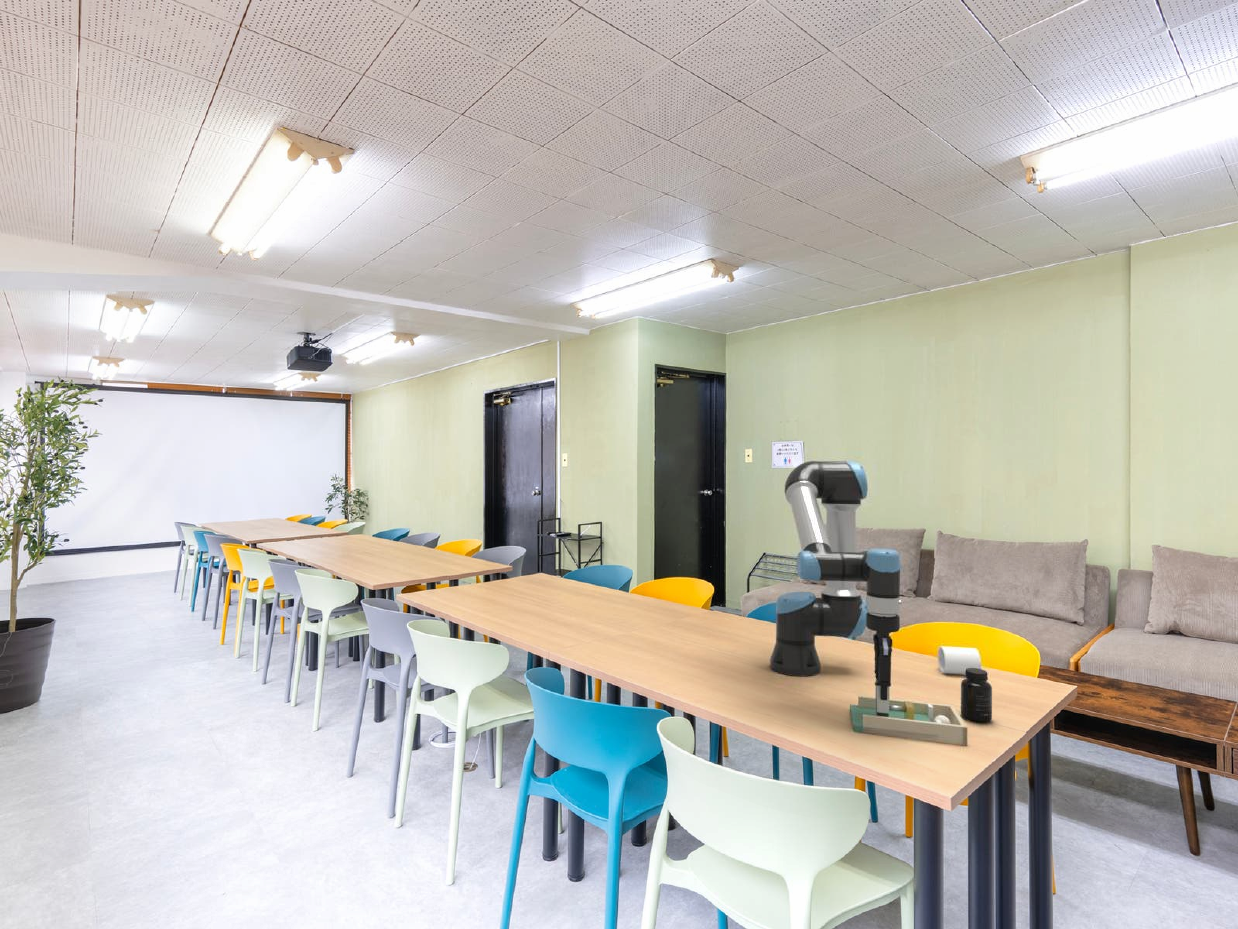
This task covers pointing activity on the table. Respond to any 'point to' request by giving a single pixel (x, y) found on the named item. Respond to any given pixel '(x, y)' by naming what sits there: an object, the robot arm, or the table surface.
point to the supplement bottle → (976, 696)
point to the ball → (943, 719)
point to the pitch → (910, 721)
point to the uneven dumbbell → (898, 708)
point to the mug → (958, 659)
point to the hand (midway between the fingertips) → (882, 709)
